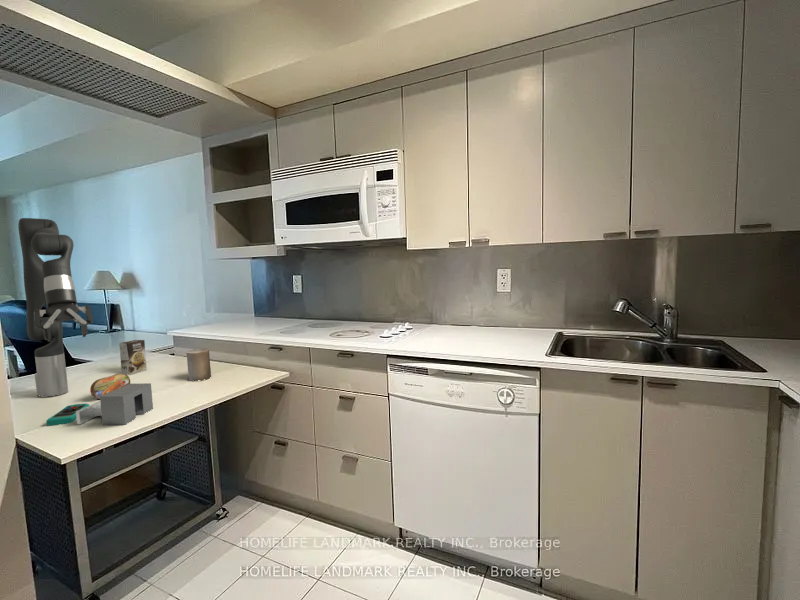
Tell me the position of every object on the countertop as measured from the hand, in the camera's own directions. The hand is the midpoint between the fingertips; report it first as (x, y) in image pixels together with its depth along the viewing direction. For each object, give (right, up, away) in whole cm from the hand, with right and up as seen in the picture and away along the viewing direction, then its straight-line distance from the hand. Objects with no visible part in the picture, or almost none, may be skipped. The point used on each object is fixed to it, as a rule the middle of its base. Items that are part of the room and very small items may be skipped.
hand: (67, 338), depth 124 cm
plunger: (+4, -29, +18) cm, 34 cm away
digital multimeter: (-12, -30, +15) cm, 36 cm away
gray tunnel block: (+10, -29, +14) cm, 34 cm away
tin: (-14, -28, +38) cm, 49 cm away
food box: (-29, -25, +73) cm, 82 cm away
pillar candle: (+12, -25, +60) cm, 66 cm away
